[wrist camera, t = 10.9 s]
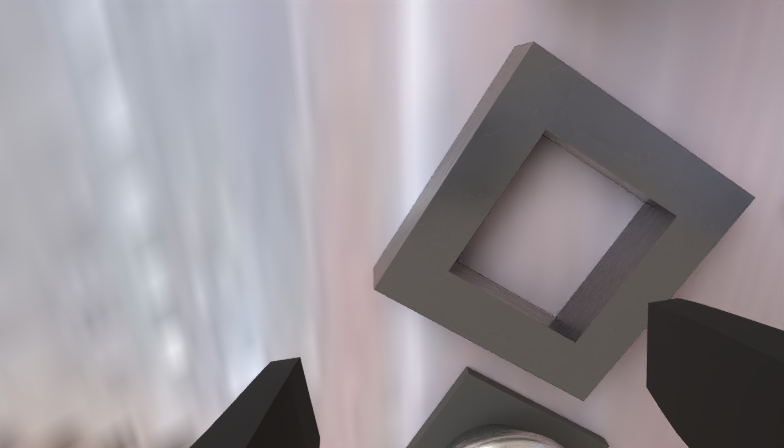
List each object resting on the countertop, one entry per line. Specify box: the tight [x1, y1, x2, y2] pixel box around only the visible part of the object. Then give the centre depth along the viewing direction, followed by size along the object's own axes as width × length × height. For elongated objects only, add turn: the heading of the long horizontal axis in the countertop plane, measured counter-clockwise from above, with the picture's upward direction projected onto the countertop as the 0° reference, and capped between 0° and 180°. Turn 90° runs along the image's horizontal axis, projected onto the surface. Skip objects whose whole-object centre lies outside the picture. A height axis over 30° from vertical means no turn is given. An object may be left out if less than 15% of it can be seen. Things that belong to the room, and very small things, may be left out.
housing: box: [374, 42, 755, 401], centre depth 18 cm, size 10×10×2 cm
